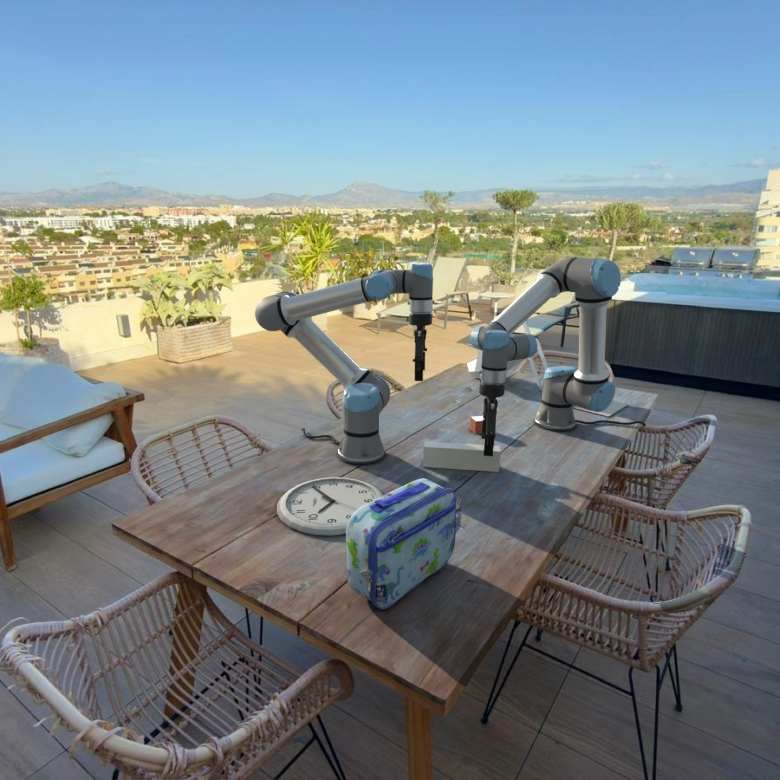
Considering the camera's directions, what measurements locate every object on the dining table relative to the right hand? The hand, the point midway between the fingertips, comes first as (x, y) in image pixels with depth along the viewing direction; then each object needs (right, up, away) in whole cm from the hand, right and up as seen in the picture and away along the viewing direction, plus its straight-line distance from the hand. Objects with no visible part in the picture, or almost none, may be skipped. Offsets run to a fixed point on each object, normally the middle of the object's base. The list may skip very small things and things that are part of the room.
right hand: (486, 446), depth 164 cm
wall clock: (-46, -14, -21) cm, 53 cm away
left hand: (-20, +23, +12) cm, 33 cm away
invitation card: (+61, +11, +62) cm, 88 cm away
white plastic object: (+27, +21, +93) cm, 99 cm away
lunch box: (-28, -23, -51) cm, 63 cm away
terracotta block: (+3, +2, +33) cm, 33 cm away
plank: (-8, -7, +3) cm, 11 cm away
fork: (-15, -16, -26) cm, 33 cm away
